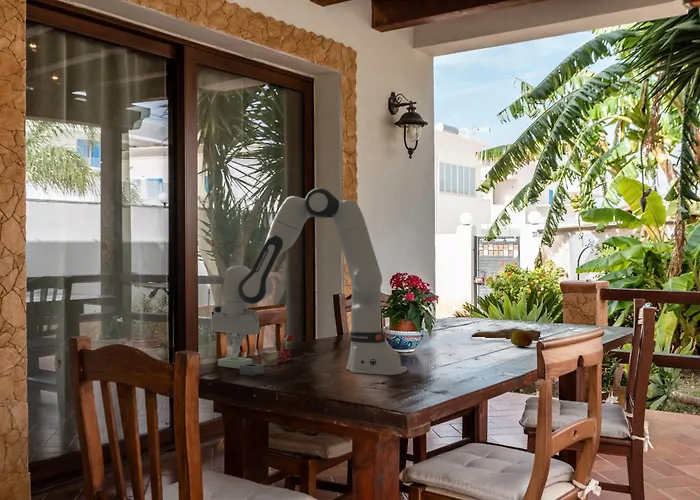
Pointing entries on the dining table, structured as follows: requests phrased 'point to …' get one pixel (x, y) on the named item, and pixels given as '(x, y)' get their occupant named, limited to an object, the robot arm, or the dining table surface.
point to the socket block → (251, 369)
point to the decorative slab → (506, 334)
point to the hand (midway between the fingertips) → (235, 345)
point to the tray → (233, 362)
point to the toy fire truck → (285, 349)
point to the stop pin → (234, 348)
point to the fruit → (521, 338)
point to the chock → (269, 358)
